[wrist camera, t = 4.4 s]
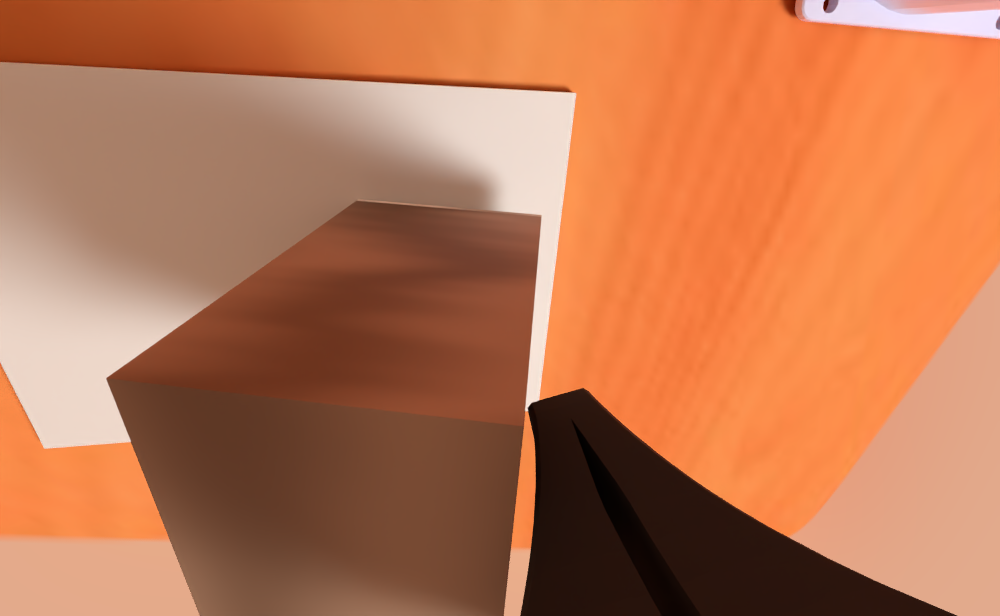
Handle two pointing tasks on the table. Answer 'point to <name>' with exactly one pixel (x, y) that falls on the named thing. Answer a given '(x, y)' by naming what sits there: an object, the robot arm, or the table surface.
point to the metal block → (348, 419)
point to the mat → (223, 202)
